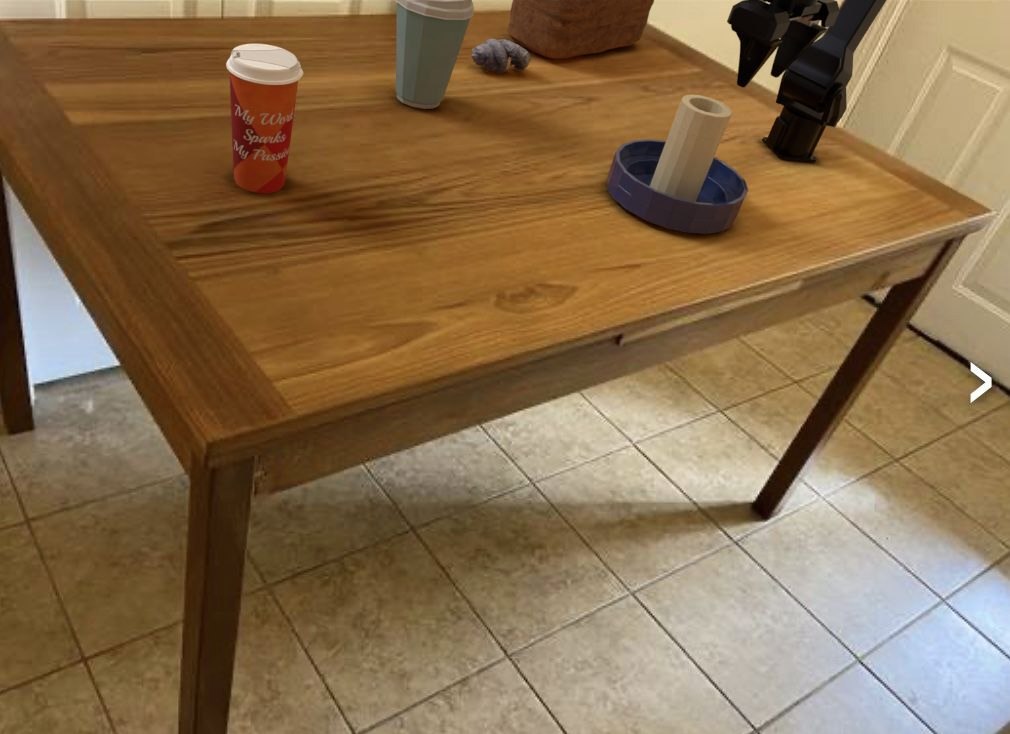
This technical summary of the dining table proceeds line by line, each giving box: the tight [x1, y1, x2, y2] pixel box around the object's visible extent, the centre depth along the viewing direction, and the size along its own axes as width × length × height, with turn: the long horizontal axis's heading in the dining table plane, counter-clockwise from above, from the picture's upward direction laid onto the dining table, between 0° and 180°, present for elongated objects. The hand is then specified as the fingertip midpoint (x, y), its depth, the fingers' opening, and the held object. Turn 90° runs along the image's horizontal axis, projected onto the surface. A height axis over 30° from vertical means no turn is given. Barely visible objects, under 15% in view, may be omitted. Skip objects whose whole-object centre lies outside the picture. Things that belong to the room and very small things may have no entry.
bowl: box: [606, 138, 749, 235], centre depth 112 cm, size 17×17×4 cm
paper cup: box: [225, 43, 304, 194], centre depth 94 cm, size 8×8×14 cm
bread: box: [506, 0, 655, 60], centre depth 150 cm, size 14×28×12 cm, turn 135°
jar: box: [650, 94, 733, 202], centre depth 109 cm, size 6×6×12 cm
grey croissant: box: [470, 38, 532, 75], centre depth 136 cm, size 5×5×10 cm
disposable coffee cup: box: [394, 0, 475, 110], centre depth 119 cm, size 11×11×15 cm
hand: (757, 81), depth 115 cm, fingers open, 9 cm apart
